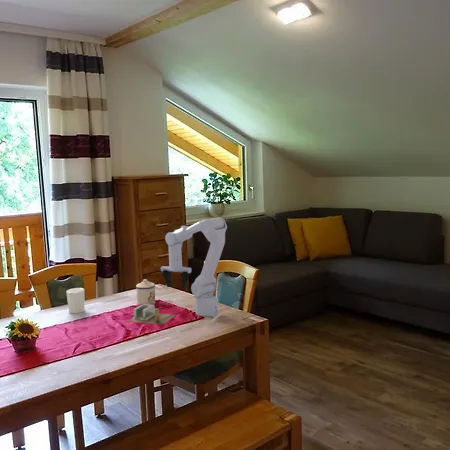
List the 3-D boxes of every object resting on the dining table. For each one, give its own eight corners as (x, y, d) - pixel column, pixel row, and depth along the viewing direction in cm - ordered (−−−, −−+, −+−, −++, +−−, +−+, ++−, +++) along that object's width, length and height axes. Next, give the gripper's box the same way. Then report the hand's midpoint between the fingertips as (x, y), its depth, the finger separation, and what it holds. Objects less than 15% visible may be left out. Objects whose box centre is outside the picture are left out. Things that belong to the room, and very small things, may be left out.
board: (176, 316, 215) (175, 302, 214) (162, 327, 203) (161, 311, 202) (144, 313, 221) (143, 299, 220) (128, 323, 209) (127, 308, 208)
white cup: (88, 308, 230) (86, 287, 229) (81, 314, 223) (80, 292, 221) (72, 308, 231) (70, 287, 230) (65, 314, 223) (63, 292, 222)
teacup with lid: (151, 306, 230) (150, 282, 229) (133, 305, 233) (132, 281, 231) (161, 299, 242) (160, 276, 240) (143, 298, 244) (142, 275, 243)
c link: (143, 312, 219) (143, 303, 218) (154, 313, 217) (154, 304, 216) (134, 318, 211) (133, 309, 211) (145, 319, 209) (145, 310, 209)
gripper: (157, 259, 223) (158, 288, 225) (186, 260, 218) (187, 290, 220) (164, 255, 229) (165, 284, 231) (192, 257, 224) (193, 286, 226)
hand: (176, 287), depth 226 cm, fingers open, 7 cm apart
